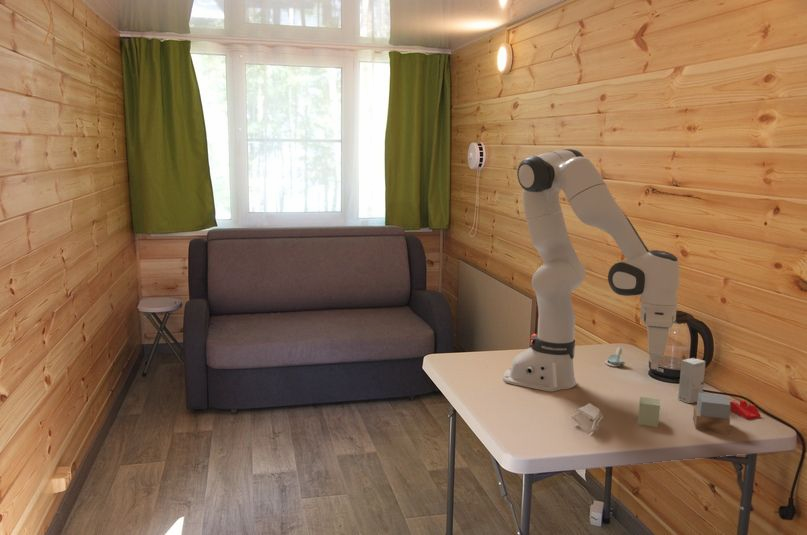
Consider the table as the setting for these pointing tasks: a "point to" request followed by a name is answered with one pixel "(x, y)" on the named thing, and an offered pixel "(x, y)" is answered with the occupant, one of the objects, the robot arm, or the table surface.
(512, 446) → the table surface
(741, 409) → the red irregular chunk
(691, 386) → the skincare box
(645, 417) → the sage block
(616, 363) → the pacifier
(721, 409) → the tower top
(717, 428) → the tower base
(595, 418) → the origami figure
